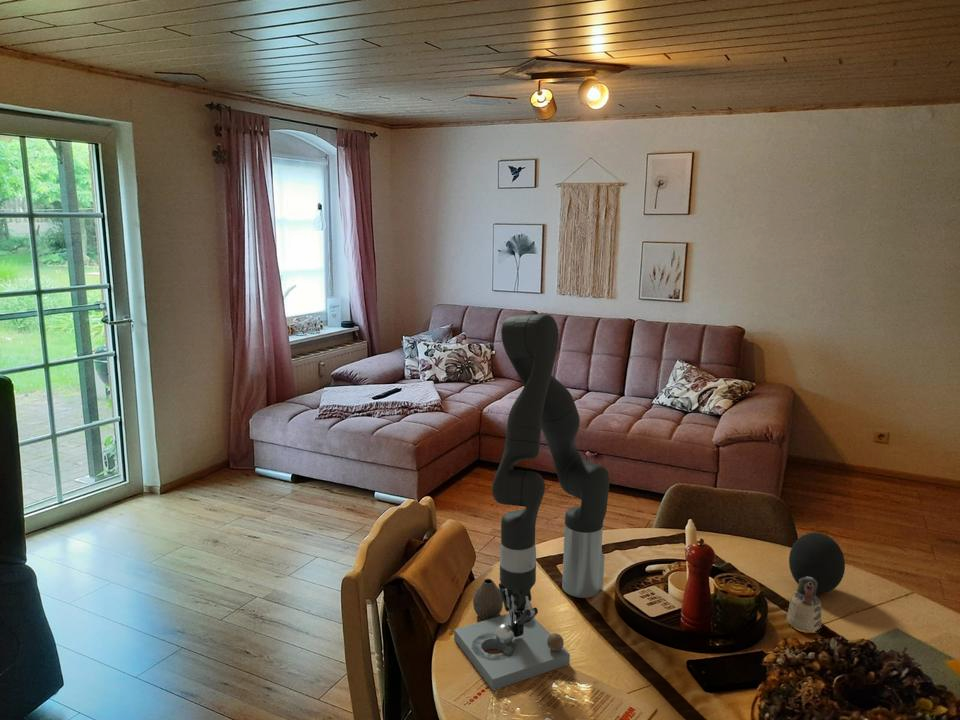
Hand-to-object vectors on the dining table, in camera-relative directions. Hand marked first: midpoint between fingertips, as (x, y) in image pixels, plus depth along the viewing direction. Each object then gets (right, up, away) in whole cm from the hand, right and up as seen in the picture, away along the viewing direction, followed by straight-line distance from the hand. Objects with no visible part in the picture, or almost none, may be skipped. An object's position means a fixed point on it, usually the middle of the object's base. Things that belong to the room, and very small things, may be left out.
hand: (517, 634), depth 144 cm
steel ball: (-3, +1, -2) cm, 3 cm away
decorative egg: (+75, +1, +25) cm, 79 cm away
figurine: (+66, -2, +10) cm, 67 cm away
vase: (-6, -1, +12) cm, 14 cm away
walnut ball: (+8, 0, -4) cm, 9 cm away
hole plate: (-2, -3, 0) cm, 4 cm away
